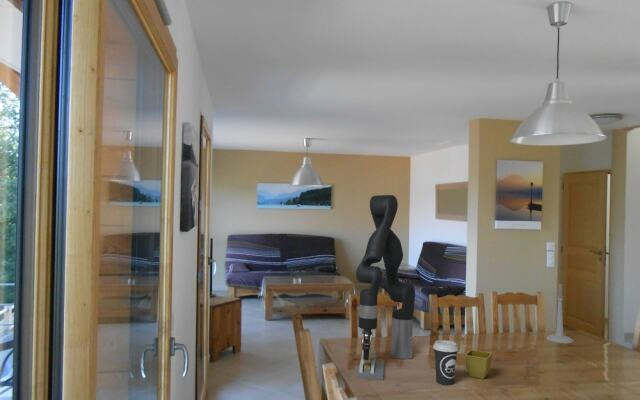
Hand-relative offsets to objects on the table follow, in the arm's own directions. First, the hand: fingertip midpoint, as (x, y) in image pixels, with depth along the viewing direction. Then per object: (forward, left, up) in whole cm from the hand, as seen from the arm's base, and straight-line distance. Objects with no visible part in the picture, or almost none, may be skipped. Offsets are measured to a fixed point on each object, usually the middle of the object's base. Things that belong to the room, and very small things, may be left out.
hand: (366, 356), depth 191 cm
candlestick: (-97, -77, -7) cm, 124 cm away
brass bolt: (0, -3, -5) cm, 6 cm away
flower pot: (-44, -7, -7) cm, 45 cm away
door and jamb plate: (-2, -5, -7) cm, 9 cm away
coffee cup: (-30, +3, -7) cm, 31 cm away
